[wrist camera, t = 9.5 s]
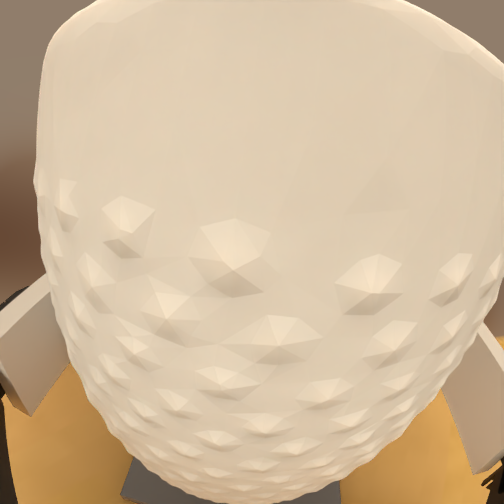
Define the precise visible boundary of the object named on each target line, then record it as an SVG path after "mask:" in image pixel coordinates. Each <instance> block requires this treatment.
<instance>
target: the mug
mask: <svg viewBox="0 0 504 504" xmlns="http://www.w3.org/2000/svg"><path fill="white" fill-rule="evenodd" d="M36 148H37V151H36V152H37V153H36V155H37V156H36V165H35V172H34V181H33V182H34V186H35V191H36V195H37V200H38V208H37V209H38V226H39V232H40V236H41V257H42V260H43V263H44V266H45V269H46V274H47V279H48V282H49V286H50V293H51V300H52V304H53V306H54V309H55V316H56V321H57V323H58V325H59V327H60V329H61V332H62V334H63V336H64V338H65V342H66V345H67V351H68V356H69V359H70V361H71V364H72V366H73V367H74V369H75V370H76V372H77V373H78V375H79V376H80V378H81V380H82V383H83V386H84V389H85V392H86V395H87V398H88V401H89V402H90V403H91V404H92V405H93V406H94V407H95V408H96V409H97V410H98V411H99V413H100V414H101V416H102V417H103V419H104V421H105V423H106V425H107V428H108V430H109V432H110V433H111V434H112V435H113V436H115V437H116V438H118V439H119V440H120V441H121V442H122V443H123V445H124V447H125V448H126V450H127V452H128V453H130V454H131V455H133V456H135V457H136V458H137V459H138V460H140V461H141V462H142V464H143V465H144V466H145V467H146V468H147V469H148V470H149V471H151V472H153V473H155V474H157V475H159V476H160V478H161V479H162V480H164V481H166V482H167V483H169V484H170V485H172V486H175V487H178V488H180V489H182V490H183V491H184V492H186V493H187V494H191V495H195V496H196V497H198V498H203V499H205V500H211V501H213V502H216V503H228V504H272V503H279V502H281V501H288V500H293V499H295V498H298V497H300V496H302V495H304V494H306V493H311V492H317V491H319V490H320V489H323V488H324V487H325V486H327V485H328V484H330V483H331V482H334V481H338V480H341V479H344V478H345V477H346V476H348V475H349V474H350V473H351V472H352V471H353V470H354V469H356V468H357V467H359V466H361V465H363V464H365V463H368V462H370V461H371V460H372V459H373V458H374V457H375V456H376V455H377V454H378V453H379V452H380V451H381V450H382V449H383V448H384V447H385V446H386V445H388V444H389V443H390V442H392V441H394V440H396V439H397V438H399V437H400V436H401V435H402V434H403V432H404V430H405V429H406V428H407V427H408V426H409V424H410V423H411V421H412V420H413V418H414V417H415V416H416V415H418V414H419V413H420V412H421V411H422V410H424V409H425V408H426V407H427V405H428V404H429V403H430V402H431V401H433V400H434V399H435V397H436V395H437V393H438V391H439V389H440V388H441V387H442V386H443V385H444V383H445V381H446V379H447V378H448V376H449V375H450V374H451V373H452V372H453V370H454V369H455V368H456V367H457V366H458V365H459V364H460V362H461V360H462V357H463V355H464V353H465V352H466V351H467V349H468V348H469V347H470V346H471V345H472V344H473V343H474V340H475V337H476V335H477V332H478V329H479V327H480V325H481V324H482V322H483V320H484V317H485V316H486V315H487V313H488V312H489V310H490V309H491V307H492V306H493V305H494V303H495V302H496V300H497V296H498V292H499V287H500V284H501V282H502V279H503V278H504V64H503V63H502V62H500V60H498V59H497V58H496V57H495V56H494V55H492V54H491V53H490V52H489V51H488V50H487V49H485V48H484V47H483V46H482V45H480V44H479V43H478V42H476V41H475V40H473V39H472V38H470V37H469V36H467V35H466V34H464V33H462V32H461V31H459V30H457V29H456V28H454V27H453V26H451V25H449V24H448V23H446V22H445V21H443V20H441V19H439V18H438V17H436V16H434V15H433V14H431V13H429V12H427V11H425V10H423V9H421V8H419V7H417V6H415V5H413V4H410V3H408V2H406V1H404V0H97V1H95V2H94V3H93V4H91V5H89V6H88V7H87V8H84V9H82V10H80V11H78V12H77V13H76V14H74V15H73V16H72V17H71V18H70V19H69V20H68V21H67V22H65V23H64V24H63V25H62V26H61V27H60V28H59V29H58V30H57V32H56V33H55V34H54V36H53V38H52V40H51V41H50V43H49V45H48V48H47V51H46V54H45V58H44V62H43V69H42V76H41V84H40V93H39V105H38V120H37V147H36Z"/></svg>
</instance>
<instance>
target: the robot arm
mask: <svg viewBox="0 0 504 504" xmlns="http://www.w3.org/2000/svg"><path fill="white" fill-rule="evenodd" d="M69 363H70V359H69V356H68V351H67V345H66V342H65V338H64V336H63V334H62V332H61V329H60V327H59V325H58V323H57V321H56V316H55V309H54V306H53V304H52V300H51V293H50V286H49V282H48V279H47V274H44V275H43V276H42V277H41V278H39V279H38V280H37V281H36V282H34V283H33V284H32V285H31V286H27V287H25V288H23V289H21V290H19V291H17V292H15V293H14V294H13V295H12V296H10V297H9V298H8V299H7V300H6V302H5V303H4V302H3V303H2V304H1V305H0V504H18V501H17V497H16V493H15V488H14V484H13V479H12V473H11V468H10V461H9V455H8V447H7V439H6V429H5V415H4V406H3V402H2V400H1V398H2V397H3V396H4V394H5V393H6V395H7V397H8V398H9V400H10V402H11V403H12V405H13V406H14V407H16V408H17V409H19V410H20V411H22V412H24V413H25V414H27V415H29V416H32V415H33V413H34V412H35V410H36V409H37V407H38V406H39V404H40V403H41V401H42V400H43V399H44V397H45V396H46V394H47V393H48V391H49V390H50V389H51V387H52V386H53V384H54V383H55V382H56V380H57V379H58V378H59V376H60V375H61V373H62V372H63V371H64V369H65V368H66V367H67V365H68V364H69ZM441 390H442V392H443V394H444V397H445V399H446V401H447V404H448V406H449V409H450V411H451V414H452V416H453V419H454V421H455V424H456V427H457V429H458V432H459V435H460V438H461V440H462V443H463V446H464V449H465V452H466V455H467V458H468V461H469V464H470V467H471V470H472V473H473V475H475V474H478V473H481V472H485V471H488V470H489V469H490V468H492V467H493V466H494V465H495V464H496V463H497V462H498V461H500V460H501V462H502V466H501V467H500V468H498V469H497V470H496V471H495V472H494V473H493V474H491V475H490V476H489V477H488V478H486V479H485V480H484V481H483V482H482V484H481V486H484V485H485V484H487V483H488V482H489V481H491V480H493V482H491V483H490V484H489V485H488V486H487V487H486V488H487V489H489V490H490V493H489V496H488V499H487V502H486V504H504V350H503V349H502V347H501V346H500V344H499V343H498V342H497V340H496V339H495V337H494V336H493V335H492V333H491V332H490V331H489V329H488V328H487V327H486V325H485V324H484V323H483V322H482V324H481V325H480V327H479V329H478V332H477V335H476V337H475V340H474V343H473V344H472V345H471V346H470V347H469V348H468V349H467V351H466V352H465V353H464V355H463V357H462V360H461V362H460V364H459V365H458V366H457V367H456V368H455V369H454V370H453V372H452V373H451V374H450V375H449V376H448V378H447V379H446V381H445V383H444V385H443V386H442V387H441Z"/></svg>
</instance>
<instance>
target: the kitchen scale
mask: <svg viewBox="0 0 504 504" xmlns="http://www.w3.org/2000/svg"><path fill="white" fill-rule="evenodd" d="M120 495H121V496H122V498H123V499H126V500H129V501H132V502H135V503H138V504H228V503H216V502H213V501H211V500H205V499H203V498H198V497H196V496H195V495H191V494H187V493H186V492H184V491H183V490H182V489H180V488H178V487H175V486H172V485H170V484H169V483H167V482H166V481H164V480H162V479H161V478H160V476H159V475H157V474H155V473H153V472H151V471H149V470H148V469H147V468H146V467H145V466H144V465H143V464H142V462H141V461H140V460H138V459H137V458H136V457H135V456H134V458H133V461H132V463H131V466H130V469H129V472H128V474H127V477H126V480H125V483H124V485H123V488H122V491H121V494H120ZM272 504H341V497H340V485H339V480H338V481H334V482H331V483H330V484H328V485H327V486H325V487H324V488H323V489H320V490H319V491H317V492H311V493H306V494H304V495H302V496H300V497H298V498H295V499H293V500H288V501H281V502H279V503H272Z"/></svg>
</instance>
